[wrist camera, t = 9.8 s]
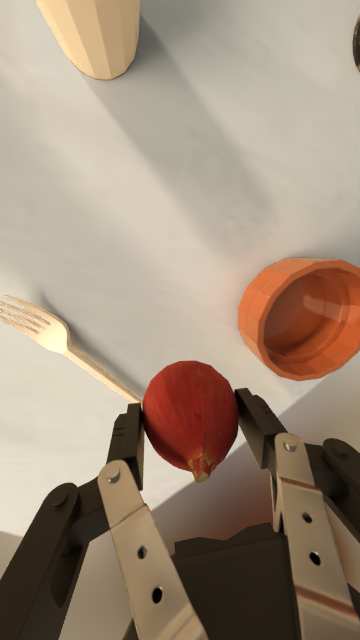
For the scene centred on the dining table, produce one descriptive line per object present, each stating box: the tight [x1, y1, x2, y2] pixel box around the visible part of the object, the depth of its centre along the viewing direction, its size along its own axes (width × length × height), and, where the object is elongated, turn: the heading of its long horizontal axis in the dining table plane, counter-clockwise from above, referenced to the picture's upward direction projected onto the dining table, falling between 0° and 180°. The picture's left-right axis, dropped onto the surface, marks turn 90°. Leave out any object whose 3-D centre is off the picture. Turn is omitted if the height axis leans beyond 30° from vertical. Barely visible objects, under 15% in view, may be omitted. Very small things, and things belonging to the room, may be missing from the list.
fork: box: [0, 295, 143, 407], centre depth 22 cm, size 3×20×2 cm, turn 42°
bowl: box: [238, 257, 360, 381], centre depth 21 cm, size 11×11×5 cm
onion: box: [142, 361, 239, 482], centre depth 13 cm, size 6×6×8 cm
